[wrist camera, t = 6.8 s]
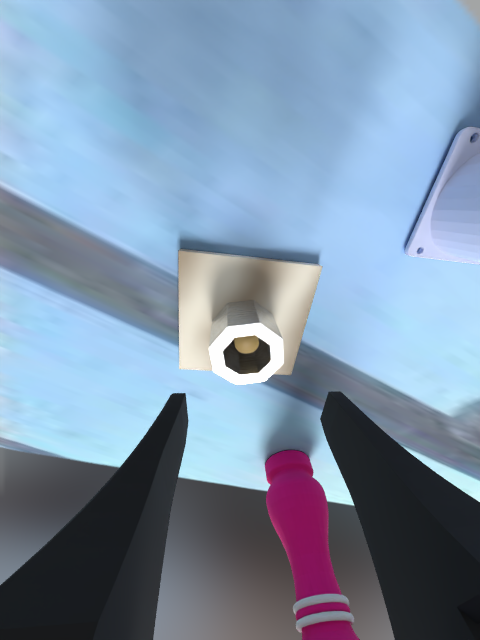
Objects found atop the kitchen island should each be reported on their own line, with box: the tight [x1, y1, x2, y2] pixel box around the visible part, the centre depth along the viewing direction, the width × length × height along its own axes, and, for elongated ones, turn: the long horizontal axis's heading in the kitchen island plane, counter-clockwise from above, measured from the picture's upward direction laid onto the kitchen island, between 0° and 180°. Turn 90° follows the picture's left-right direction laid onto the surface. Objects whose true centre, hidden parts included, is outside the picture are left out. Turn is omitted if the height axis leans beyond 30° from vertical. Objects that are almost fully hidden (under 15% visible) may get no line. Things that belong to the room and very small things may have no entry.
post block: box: [178, 249, 322, 375], centre depth 18 cm, size 11×11×4 cm
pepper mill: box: [265, 450, 360, 640], centre depth 22 cm, size 7×7×20 cm
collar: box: [209, 300, 284, 385], centre depth 18 cm, size 5×5×4 cm
